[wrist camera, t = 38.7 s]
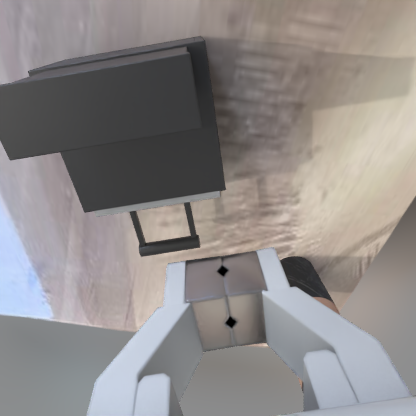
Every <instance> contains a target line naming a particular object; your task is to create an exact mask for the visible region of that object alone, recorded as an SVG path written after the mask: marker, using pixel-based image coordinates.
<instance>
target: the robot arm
mask: <svg viewBox="0 0 416 416" xmlns="http://www.w3.org/2000/svg"><path fill="white" fill-rule="evenodd" d="M259 343H267V345H268V346H269V347H270V348H271V349H272V350H273V351H274V352H275V353H276V354H277V355H278V356H279V357H280V358H281V359H282V360H283V361H284V362H285V364H286V365H287V366H288V367H289V368H290V369H291V370H292V371H293V372H294V373H295V374H296V375H297V376H298V377H299V378H300V379H301V380H302V381H303V394H304V396H303V397H304V399H303V401H304V402H303V404H304V405H303V408H304V410H303V411H304V412H297V413H290V414H283V415H275V416H416V396H412V394H411V392H410V391H409V389H408V387H407V386H406V384H405V382H404V381H403V379H402V377H401V376H400V374H399V372H398V371H397V369H396V367H395V366H394V364H393V363H392V361H391V359H390V358H389V356H388V354H387V352H386V351H385V349H384V347H383V346H382V344H381V343H380V341H379V340H378V339H376V338H375V337H373V336H372V335H370V334H369V333H367V332H365V331H364V330H362V329H361V328H359V327H358V326H356V325H354V324H353V323H352V322H350V321H348V320H347V319H345V318H344V317H342V316H341V315H339V314H338V313H336V312H334V311H333V310H331V309H330V308H328V307H327V306H325V305H324V304H322V303H321V302H319V301H317V300H316V299H314V298H313V297H311V296H310V295H308V294H307V293H305V292H303V291H302V290H300V289H299V288H297V287H290V285H289V283H288V280H287V278H286V275H285V272H284V270H283V267H282V265H281V262H280V260H279V257H278V255H277V252H276V250H275V248H274V247H270V248H264V249H259V250H256V251H250V252H244V253H238V254H231V255H225V256H217V257H210V258H202V259H195V260H187V261H181V262H174V263H168V265H167V269H166V280H165V292H164V303H163V307H159V308H157V309H156V310H155V311H154V313H153V314H152V315H151V316H150V317H149V319H148V320H147V321H146V322H145V323H144V324H143V326H142V327H141V328H140V329H139V330H138V332H137V333H136V334H135V335H134V336H133V337H132V339H131V340H130V341H129V342H128V343H127V345H126V346H125V347H124V348H123V349H122V350H121V352H120V353H119V354H118V355H117V356H116V357H115V359H114V360H113V361H112V362H111V363H110V365H109V366H108V367H107V368H106V369H105V371H104V372H103V373H102V374H101V375H100V376H99V378H98V379H97V380H96V381H95V385H94V389H93V392H92V396H91V400H90V404H89V408H88V412H87V415H86V416H183V413H182V410H181V407H180V404H179V402H180V400H181V397H182V396H183V394H184V392H185V390H186V388H187V386H188V384H189V382H190V380H191V378H192V376H193V374H194V372H195V370H196V368H197V366H198V364H199V362H200V360H201V358H202V356H203V352H206V351H211V350H217V349H222V348H228V347H233V346H242V345H250V344H259Z"/></svg>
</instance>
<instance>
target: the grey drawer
mask: <svg viewBox="0 0 416 416" xmlns="http://www.w3.org/2000/svg"><path fill="white" fill-rule="evenodd" d="M218 197H221V196H220V191H215V192H209V193H203V194H197V195H191V196H184V197H178V198H172V199H166V200H160V201H153V202H147V203H141V204H135V205H129V206H123V207H116V208H110V209H104V210H98V211H94V212H95V215H96V217H100V216H106V215H112V214H118V213H124V212H130V215H131V218H132V221H133V225H134V228H135V231H136V234H137V237H138V240H139V243H140V244H139V253H140V255H141V257H143V256H149V255H156V254H162V253H168V252H175V251H181V250H187V249H194V248H200V239H199V235H196V230H195V225H194V220H193V215H192V211H191V206H190V202H193V201H199V200H205V199H211V198H218ZM180 203H184V206H185V210H186V215H187V220H188V224H189V229H190V233H191V236H187V237H181V238H175V239H168V240H162V241H156V242H149V243H146V242H145V238H144V235H143V232H142V229H141V225H140V222H139V219H138V216H137V212H136V211H137V210H143V209H149V208H156V207H162V206H168V205H174V204H180Z"/></svg>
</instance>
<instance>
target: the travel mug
mask: <svg viewBox="0 0 416 416" xmlns="http://www.w3.org/2000/svg"><path fill="white" fill-rule="evenodd" d="M280 262H281V265H282V267H283V270H284V272H285V275H286V278H287V280H288V283H289V285H290V287H297V288H299V289H300V290H302V291H303V292H305V293H307V294H308V295H310V296H311V297H313V298H314V299H316V300H317V301H319V302H321V303H322V304H324V305H325V306H327V307H328V308H330V309H331V310H333V311H334V312H336V313H338V314H339V315H340V313H339V311H338V309H337V308H336V306H335V304H334V302H333V300H332V299H331V297H330V295H329V293H328V292H327V290H326V288H325V286H324V285H323V283H322V281H321V279H320V278H319V276H318V274H317V272H316V271H315V269H314V267H313V266H312V264H311V263H310V262H309V261H308V260H306V259H304V258H301V257H288V258H285V259H282V260H280ZM298 379H299V382H300V385H301V388H302V391H303V381H302V380H301V379H300V378H299V377H298Z"/></svg>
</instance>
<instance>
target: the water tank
mask: <svg viewBox="0 0 416 416" xmlns="http://www.w3.org/2000/svg"><path fill="white" fill-rule="evenodd" d="M201 128H202V125H201V118H200V112H199V106H198V100H197V94H196V88H195V82H194V75H193V69H192V63H191V57H190V53H189V52H188V50H187V47H180V48H174V49H168V50H163V51H157V52H151V53H145V54H140V55H134V56H128V57H122V58H117V59H111V60H105V61H99V62H94V63H88V64H82V65H76V66H71V67H65V68H59V69H53V70H48V71H44V72H41V73H39V74H36V75H33V76H30V77H27V78H24V79H21V80H18V81H15V82H12V83H8V84H2V85H0V141H1V143H2V145H3V147H4V149H5V151H6V153H7V155H8V157H9V159H10V160H16V159H22V158H28V157H34V156H40V155H46V154H52V153H58V152H64V151H70V150H76V149H82V148H88V147H94V146H100V145H106V144H112V143H118V142H124V141H130V140H135V139H141V138H147V137H153V136H159V135H165V134H171V133H177V132H183V131H189V130H195V129H201Z"/></svg>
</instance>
